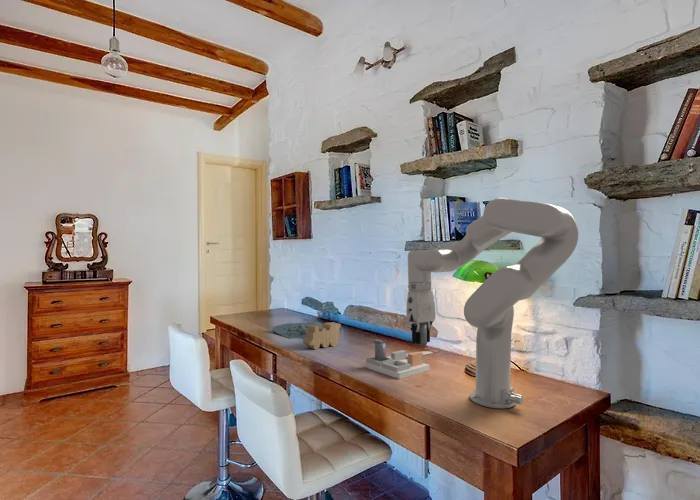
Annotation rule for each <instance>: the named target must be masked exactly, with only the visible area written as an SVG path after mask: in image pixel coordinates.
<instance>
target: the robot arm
mask: <svg viewBox="0 0 700 500" xmlns="http://www.w3.org/2000/svg"><path fill="white" fill-rule="evenodd" d="M511 233H514V234H515V233H516V234H521V235H527V236H533V237H539V238H541V239H540V240H539V241H538V243H536V244H535V245H534V246H533V247H532V248H530V250H528V252H526V254H525V255H524V256H523V257H522V258H521V259H519V260H518V261H517V262H516V263H515V264H513V265H508V266H503V267H500V268H498V269H496V270H495V271H493V273H491V275H489V276H488V278H486V279H485V281H483V283H482V284H481V285H480V286H479V287H478V288H476V289H475V291H474V292H473V293H471V295H470V296H469V297H468V298H467V299H466V301H465V303H464V306H463V315H464V319H465V321H466V322H467V323H468V324H469V325H470V326H471V327H473V328H476V338H475V339H476V340H475V341H476V342H475V346H476V347H475V390H472V391H471V392H470V393H469V399H470V400H471V401H472V402H474V403H475V404H477V405H480V406H482V407H487V408H490V409H491V408H492V409H510V408H514V407H515V406H516V405H517V404H518V405H520V406H521V405H523V403H524V396H523V395H522V394H519V393H515V388H514V387H513V386H511V370H512V369H511V367H512V366H511V363H512V361H511V360H512V359H511V357H512V352H511V351H512V332H513V331H512V329H513V324H514V323H513V322H514V316H515V308H514V305H516V304H517V303H518V302H519V301H523V300H527V299H529V298H530V297H532V296H533V295H534V294H535V293H536V292H537V291H538V289H539V288H541V287H542V286H543V285H544V284H545V283H546V282H547V281H548V279H550V278H551V277H552V275H554V273H556V272H557V271H558V270H559V269H560V267H562V266H563V265H564V264H565V263H566V262H567V261H568V260H569V258H570V257H571V256H572V254H573V253H574V251H575V249H576V247H577V245H578V241H579V227H578V224H577V222H576V220H575V218H574V216H573V215H572V213H570V212H569V211H568V210H567V209H565V208H563V207H561V206H556V205H554V204H551V203H546V202H537V201H529V200H520V199H512V198H506V197H497V198H494V199H492V200H491V201H489V202H488V203H487V204H486V206H484V210H483V213H482V215H481V216H480V217H479V218H477V219H475V220H474V221H472V222H471V223H469V224H468V225H467V226H466V228H465V235H464V237H463V238H462V239H460V241H458V242H456V243H455V244H453V245H452V246H450V247H448V248H433V249H426V250H425V249H423V250H422V249H419V250H410V251H409V252H408V254H407V280H408V284H407V288H408V290H407V291H408V292H407V297H406V307H405V308H406V312H405V313H406V319H405V322H404V323H405V325H406V326H407V327H408V328H409V329H410V331H411V342H412V344H414V345H416V344H421V333H420V332H419V327H420V323H423V322H426V323H427V343H430V342H431V332H430V330H431V329H432V327H431V326H432V325H433V323H434V322H435V320H436V317H437V316H436V313H437V312H436V304H435V303H436V301H435V297H434V292H433V290H432V273H434V274H435V273H436V274H438V273H447V272H453V271H456V270H458V269H460V268H461V267H463V266H465V265H466V264H468V263H470V262H471V261H473V260H474V259H475V258H476V257H477V256H478V257H479V255H480V254H481V253H482V252H483V251H484V250H485V249H487V248H488V247H489V246H491V245H494V243H496V242H498V241H500V240H501V239H504V237H506V236H508V235H510V234H511ZM414 321H416V322H414ZM414 324H416V326H415V325H414Z"/></svg>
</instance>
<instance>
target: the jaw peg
mask: <svg viewBox="0 0 700 500" xmlns="http://www.w3.org/2000/svg"><path fill="white" fill-rule="evenodd" d="M414 322H416V321H414ZM414 325H415V326H416V324H414ZM419 332H420V333H421V344H415V345H418V346H425V345H427V344H428V342H427V323H426V322H423V323H420V327H419Z"/></svg>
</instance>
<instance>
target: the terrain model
mask: <svg viewBox="0 0 700 500" xmlns="http://www.w3.org/2000/svg"><path fill="white" fill-rule="evenodd" d="M308 325H314V326H318V327H322V328H323V323H321V322H319V321H314V322H306V323H303V322H296V323H295V322H294V323H292V322H291V323H290V322H289V323H282V324H278V325H274V326H269V328H270V330H271V331H273V332H275V333H276V334H278V335H280V336H282V337H284V338H287V339H289V340H290V339H302V340H304V338H305V337H306V331H307V330H308Z"/></svg>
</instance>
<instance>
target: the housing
mask: <svg viewBox="0 0 700 500" xmlns="http://www.w3.org/2000/svg"><path fill="white" fill-rule="evenodd" d="M373 343H374V355H373V356H369V357H366V361H365V368H366V369H369V370H372V371H375V372H378V373H381V374H384V375H386V376H389V377H393V378H395V379H398V380H402V379H405V378H408V377H412V376H415V375H418V374H421V373H425V372H428V371H430V369H431V368H430V366H431V365H430V364H428V363H425V361H424V360H423V364H420V365H416V366H411V364H409V363H407V357H406V353H407V350H406V351H405V349H401V350H397V351H392V352H390V355H389V356H386V355H387V354H386V352H387V348H386V347H387V345H386V344H387V343H385V342H384V340H381V339H373Z"/></svg>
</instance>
